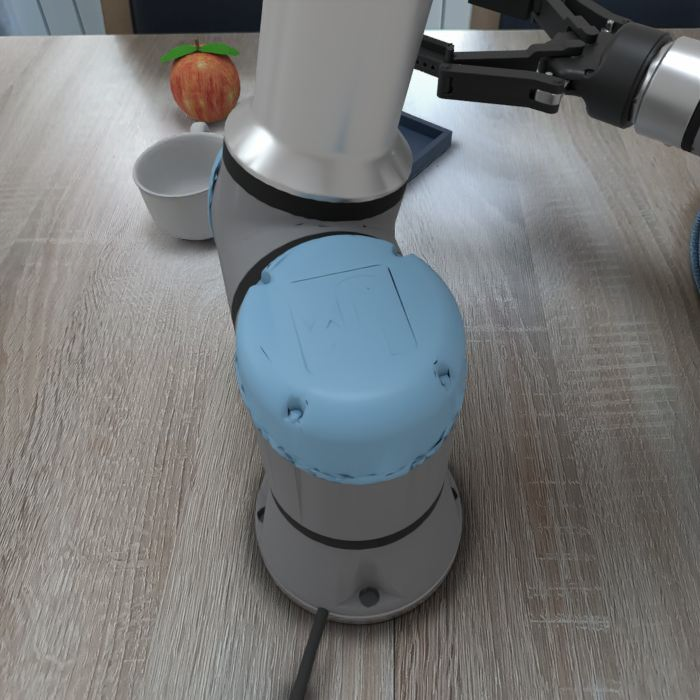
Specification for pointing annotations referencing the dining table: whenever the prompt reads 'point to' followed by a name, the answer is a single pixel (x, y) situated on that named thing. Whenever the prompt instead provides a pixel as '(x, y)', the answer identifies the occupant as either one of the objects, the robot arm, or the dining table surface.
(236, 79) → the fruit
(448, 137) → the tray
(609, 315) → the dining table surface
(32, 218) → the dining table surface
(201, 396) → the dining table surface
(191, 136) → the teacup
